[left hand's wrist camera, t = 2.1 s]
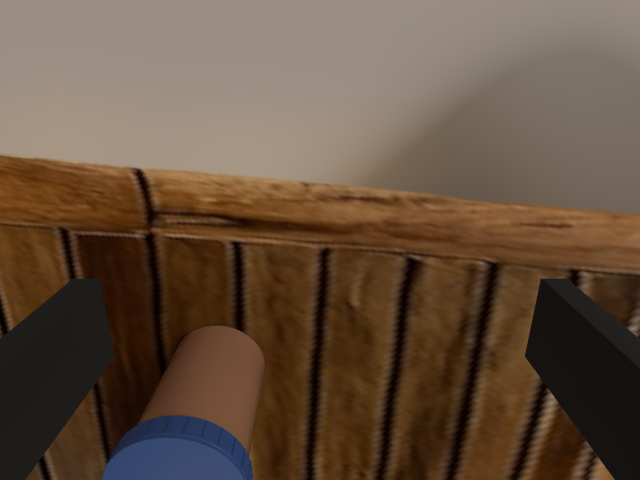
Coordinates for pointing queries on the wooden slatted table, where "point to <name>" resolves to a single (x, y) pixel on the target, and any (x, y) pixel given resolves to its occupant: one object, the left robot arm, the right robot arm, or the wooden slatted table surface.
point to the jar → (213, 381)
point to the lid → (178, 452)
